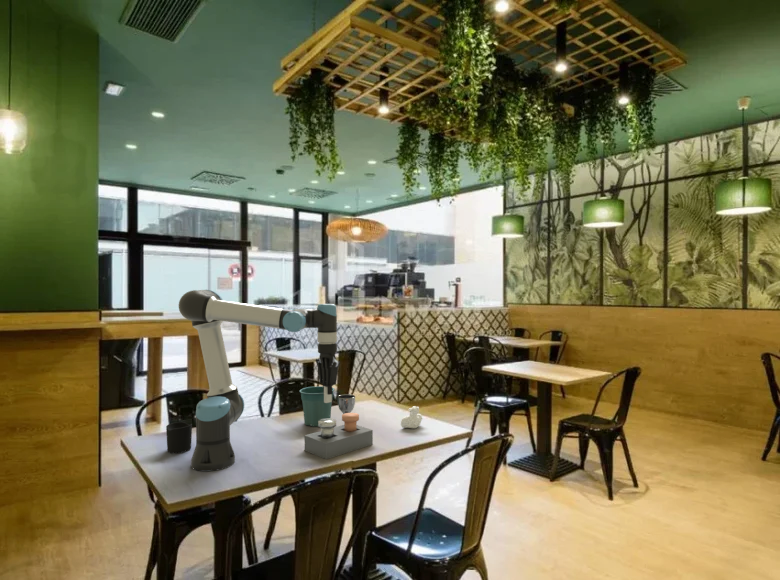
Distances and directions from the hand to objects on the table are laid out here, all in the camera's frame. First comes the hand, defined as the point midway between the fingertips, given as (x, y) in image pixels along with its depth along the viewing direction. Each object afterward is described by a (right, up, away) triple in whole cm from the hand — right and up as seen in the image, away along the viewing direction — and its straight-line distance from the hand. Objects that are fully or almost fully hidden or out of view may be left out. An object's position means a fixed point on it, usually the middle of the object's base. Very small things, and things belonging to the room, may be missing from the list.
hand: (327, 402), depth 189 cm
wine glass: (+5, -19, +29) cm, 35 cm away
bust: (+35, -19, +31) cm, 51 cm away
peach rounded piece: (+8, -14, +9) cm, 19 cm away
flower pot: (-10, -19, +38) cm, 44 cm away
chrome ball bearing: (0, -14, 0) cm, 14 cm away
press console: (+4, -19, +4) cm, 20 cm away
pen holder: (-60, -20, +2) cm, 63 cm away
